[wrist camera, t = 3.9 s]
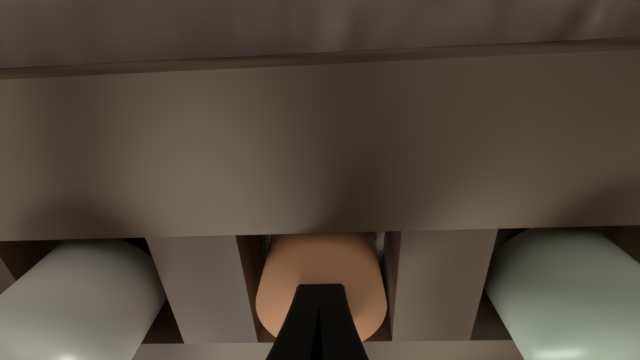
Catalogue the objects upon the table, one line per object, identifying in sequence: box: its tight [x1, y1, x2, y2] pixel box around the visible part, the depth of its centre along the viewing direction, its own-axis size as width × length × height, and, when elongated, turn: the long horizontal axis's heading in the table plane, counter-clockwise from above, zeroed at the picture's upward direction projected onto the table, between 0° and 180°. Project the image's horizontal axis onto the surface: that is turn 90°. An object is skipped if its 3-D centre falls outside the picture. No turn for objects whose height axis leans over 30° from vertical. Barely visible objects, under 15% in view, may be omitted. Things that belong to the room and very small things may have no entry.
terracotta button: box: [256, 232, 387, 342], centre depth 11 cm, size 4×4×3 cm
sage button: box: [484, 226, 640, 360], centre depth 9 cm, size 4×4×3 cm
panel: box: [0, 37, 640, 360], centre depth 11 cm, size 24×14×3 cm, turn 93°
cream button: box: [0, 238, 167, 360], centre depth 10 cm, size 4×4×3 cm
